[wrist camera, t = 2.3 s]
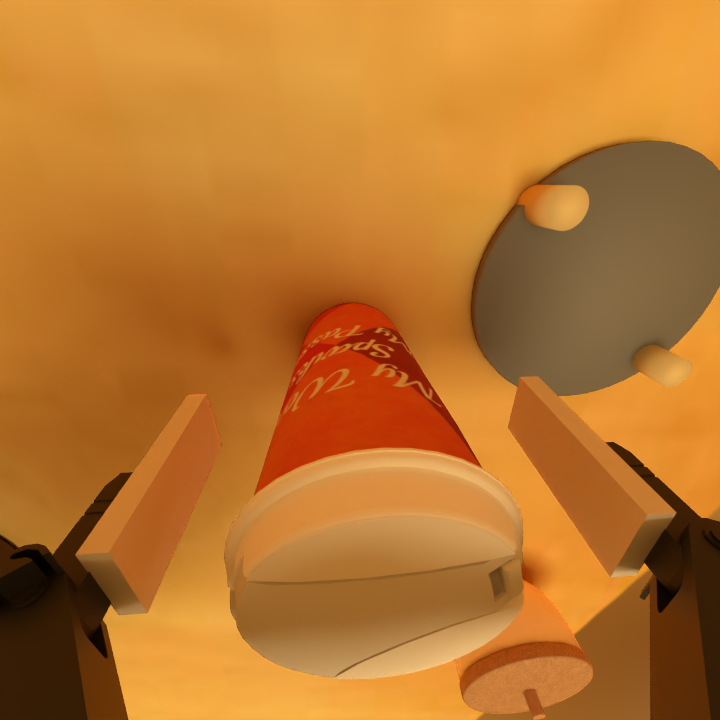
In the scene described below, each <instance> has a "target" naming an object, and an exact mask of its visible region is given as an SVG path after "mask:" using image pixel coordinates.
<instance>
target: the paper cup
mask: <svg viewBox="0 0 720 720" xmlns="http://www.w3.org/2000/svg"><path fill="white" fill-rule="evenodd" d="M522 545H523V520H522V516H521V512H520V508H519V506H518V505H517V503H516V501H515V499H514V498H513V496H512V494H511V492H510V491H509V490H508V489H507V488H506V487H505V486H504V485H503V484H502V483H501V482H500V480H499V479H497V478H496V477H494V476H493V475H492V474H490V473H489V472H487V471H486V470H484V469H483V468H482V467H481V465H480V464H479V462H478V460H477V458H476V457H475V455H474V453H473V451H472V450H471V448H470V446H469V445H468V443H467V441H466V439H465V438H464V436H463V434H462V432H461V431H460V429H459V427H458V426H457V424H456V422H455V421H454V419H453V418H452V416H451V415H450V413H449V412H448V410H447V409H446V407H445V406H444V404H443V402H442V401H441V399H440V398H439V396H438V395H437V393H436V392H435V390H434V389H433V387H432V386H431V384H430V382H429V381H428V379H427V378H426V376H425V375H424V373H423V371H422V370H421V368H420V366H419V365H418V363H417V361H416V360H415V358H414V357H413V355H412V353H411V352H410V350H409V348H408V347H407V345H406V344H405V342H404V340H403V339H402V337H401V336H400V334H399V333H398V331H397V330H396V328H395V327H394V325H393V324H392V323H391V321H390V320H389V319H388V318H387V317H386V316H385V315H384V314H383V313H381V312H380V311H378V310H377V309H375V308H373V307H371V306H368V305H364V304H359V303H347V304H341V305H337V306H334V307H332V308H330V309H328V310H326V311H325V312H323V313H322V314H321V315H320V316H318V317H317V319H316V320H315V321H314V322H313V323H312V325H311V326H310V328H309V330H308V332H307V334H306V337H305V339H304V342H303V345H302V348H301V351H300V354H299V357H298V360H297V363H296V366H295V369H294V372H293V375H292V378H291V381H290V384H289V387H288V390H287V394H286V397H285V400H284V403H283V406H282V409H281V412H280V415H279V419H278V422H277V425H276V428H275V431H274V434H273V437H272V441H271V444H270V447H269V450H268V453H267V456H266V459H265V463H264V466H263V469H262V472H261V475H260V478H259V481H258V485H257V488H256V491H255V494H254V496H253V497H252V498H251V499H250V501H249V502H248V503H247V504H246V505H245V506H244V507H243V508H242V509H241V511H240V512H239V514H238V515H237V517H236V518H235V520H234V521H233V523H232V525H231V528H230V531H229V533H228V536H227V539H226V543H225V553H224V559H225V565H226V570H227V581H228V587H229V588H230V610H231V613H232V615H233V618H234V619H235V620H236V624H237V628H238V630H239V632H240V634H241V636H242V638H243V639H244V640H245V641H246V642H247V643H248V644H249V645H250V646H251V647H252V648H253V649H254V650H255V651H257V652H258V653H259V654H260V655H262V656H263V657H264V658H266V659H268V660H270V661H272V662H273V663H275V664H277V665H280V666H283V667H285V668H288V669H291V670H295V671H299V672H303V673H308V674H312V675H318V676H323V677H328V678H337V679H368V678H382V677H389V676H397V675H403V674H408V673H413V672H417V671H421V670H425V669H429V668H432V667H436V666H439V665H441V664H444V663H447V662H450V661H453V660H455V659H457V658H460V657H462V656H464V655H466V654H469V653H470V652H472V651H474V650H476V649H478V648H480V647H481V646H483V645H485V644H486V643H488V642H489V641H491V640H492V639H494V638H495V637H496V636H498V635H499V634H500V633H501V632H502V631H503V630H505V629H506V628H507V627H508V626H509V625H510V624H511V623H512V621H513V620H514V619H515V618H516V617H517V616H518V614H519V612H520V610H521V609H522V607H523V601H524V594H523V589H524V584H523V577H522V566H523V552H522Z"/></svg>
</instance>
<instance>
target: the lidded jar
mask: <svg viewBox="0 0 720 720" xmlns="http://www.w3.org/2000/svg"><path fill="white" fill-rule="evenodd" d="M523 584H524V589H523V594H524V601H523V607H522V609H521V610H520V612H519V614H518V616H517V617H516V618H515V619H514V620H513V621H512V623H511V624H510V625H509V626H508V627H507V628H506V629H505V630H503V631H502V632H501V633H500V634H499V635H498V636H496V637H495V638H494V639H492V640H491V641H489V642H488V643H486V644H485V645H483V646H481V647H480V648H478V649H476V650H474V651H472V652H470V653H469V654H466V655H464V656H462V657H460V658H457V659H455V663H456V668H457V672H458V676H459V680H460V689H461V694H462V697H463V700H464V702H465V703H466V704H467V705H468V706H469V707H470V708H472V709H474V710H477V711H480V712H485V713H494V714H509V713H519V712H525V711H530V713H531V715H532V718H533V719H534V720H537V719H542V718H544V717H545V716H546V715H545V712H544V710H543V707H546V706H549V705H552V704H555V703H557V702H560V701H563V700H565V699H567V698H569V697H571V696H573V695H574V694H576V693H578V692H579V691H580V690H582V689H583V688H584V687H585V686H586V685H587V684H588V683H589V682H590V680H591V679H592V676H593V668H592V666H591V664H590V662H589V660H588V658H587V656H586V655H585V653H584V652H583V651H582V650H581V648H580V646H579V644H578V642H577V641H576V639H575V637H574V635H573V633H572V632H571V630H570V628H569V626H568V625H567V623H566V622H565V620H564V619H563V617H562V616H561V614H560V613H559V611H558V610H557V609H556V607H555V606H554V605H553V603H552V602H551V601H550V600H549V599H548V598H547V597H546V596H545V595H544V594H543V593H542V592H541V591H540V590H539V589H537V588H536V587H535V586H533V585H532V584H530V583H528V582H527V581H525V580H523Z"/></svg>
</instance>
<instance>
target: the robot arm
mask: <svg viewBox="0 0 720 720" xmlns="http://www.w3.org/2000/svg"><path fill="white" fill-rule="evenodd" d="M508 428H509V430H510V431H511V433H512V434H513V436H514V437H515V439H516V440H517V442H518V443H519V444H520V446H521V447H522V449H523V450H524V452H525V453H526V455H527V456H528V458H529V459H530V461H531V462H532V463H533V465H534V466H535V468H536V469H537V471H538V472H539V474H540V475H541V477H542V478H543V479H544V481H545V482H546V484H547V485H548V487H549V488H550V490H551V491H552V493H553V494H554V496H555V497H556V498H557V500H558V501H559V503H560V504H561V506H562V507H563V509H564V510H565V512H566V513H567V514H568V516H569V517H570V519H571V520H572V522H573V523H574V525H575V526H576V528H577V529H578V531H579V532H580V533H581V535H582V536H583V538H584V539H585V541H586V542H587V544H588V545H589V547H590V548H591V549H592V551H593V552H594V554H595V555H596V557H597V558H598V560H599V561H600V563H601V564H602V566H603V567H604V568H605V570H606V571H607V573H608V574H609V576H610V577H620V576H633V575H637V573H638V572H639V570H640V568H641V567H642V565H643V564H644V563H645V564H646V565H647V566H648V568H649V569H650V570H651V571H652V573H653V576H652V577H651V579H650V580H649V582H648V583H647V584H646V586H645V587H644V589H643V590H642V592H641V595H640V598H642V599H644V600H645V598H646V597H647V596H648V594H649V593H650V712H651V713H650V716H651V717H650V718H651V719H650V720H720V522H718V521H715V520H711V519H708V518H701V517H700V516H698V515H697V514H696V513H695V512H694V511H693V510H692V509H691V508H690V507H689V506H688V505H687V504H686V503H684V502H683V501H682V500H681V499H680V498H679V497H678V496H677V495H676V494H675V493H674V492H673V491H672V490H671V489H669V488H668V487H667V486H666V485H665V484H664V483H663V482H662V481H661V480H660V479H659V478H658V477H655V476H654V474H653V473H652V472H651V471H650V470H649V469H648V468H647V467H644V464H643V463H642V462H640V461H639V460H638V459H637V458H636V457H635V456H634V455H633V454H632V453H631V452H629V451H628V450H626V449H624V448H623V447H621V446H619V445H618V444H616V443H614V442H604V441H603V440H602V439H601V438H600V437H599V436H598V435H597V434H596V433H595V432H594V431H593V430H592V429H591V428H590V427H589V426H588V425H587V424H586V423H585V422H584V421H583V420H582V419H581V418H580V417H579V416H578V415H577V414H576V413H575V412H574V411H573V410H572V409H571V408H570V407H569V406H568V405H567V404H566V403H565V402H564V401H563V400H562V399H560V398H559V397H558V396H557V395H556V394H555V393H554V392H553V391H552V390H551V389H550V388H549V387H548V386H547V385H546V384H545V383H544V382H543V381H542V380H541V379H540V378H539V377H538V376H528V377H520V379H519V383H518V387H517V392H516V396H515V400H514V404H513V408H512V413H511V417H510V421H509V425H508ZM221 445H222V444H221V440H220V437H219V434H218V430H217V427H216V423H215V420H214V417H213V413H212V410H211V406H210V403H209V400H208V396H207V394H189V395H187V396H186V398H185V399H184V401H183V402H182V403H181V405H180V406H179V408H178V409H177V410H176V412H175V413H174V415H173V416H172V418H171V419H170V420H169V422H168V423H167V425H166V426H165V428H164V429H163V430H162V432H161V433H160V435H159V436H158V438H157V439H156V440H155V442H154V443H153V445H152V446H151V448H150V449H149V450H148V452H147V453H146V455H145V456H144V457H143V459H142V460H141V462H140V463H139V465H138V466H137V467H136V469H135V470H134V472H131V473H121V474H119V475H118V476H117V477H116V478H114V479H113V480H112V481H111V482H110V483H108V484H107V485H106V486H105V487H104V488H103V490H102V491H101V492H100V493H99V495H98V496H97V497H96V499H95V500H94V503H93V504H91V505H90V507H89V508H88V509H87V511H86V512H85V515H84V516H82V517H81V518H80V520H79V521H78V522H77V524H76V525H75V526H74V528H73V529H72V530H71V532H70V533H69V534H68V535H67V537H66V538H65V539H64V541H63V542H62V543H61V545H60V546H59V547H58V549H57V550H56V551H55V553H54V554H53V555H52V554H51V553H50V551H49V550H48V549H47V547H46V546H44V545H40V544H32V545H26V546H23V547H20V548H18V549H14V548H13V547H11V546H10V545H9V544H7V543H6V542H4V541H3V540H1V539H0V720H128V716H127V712H126V708H125V703H124V699H123V695H122V690H121V686H120V682H119V678H118V673H117V669H116V665H115V660H114V656H113V652H112V647H111V643H110V639H109V635H108V630H107V626H106V624H105V622H104V621H103V617H104V616H105V614H106V612H107V610H108V608H109V606H110V604H111V605H112V607H113V608H114V609H115V611H116V612H117V613H118V615H128V614H141V613H148V611H149V608H150V606H151V604H152V601H153V599H154V597H155V595H156V592H157V590H158V588H159V586H160V583H161V581H162V579H163V577H164V574H165V572H166V570H167V567H168V565H169V563H170V561H171V558H172V556H173V554H174V552H175V549H176V547H177V545H178V542H179V540H180V538H181V536H182V533H183V531H184V529H185V527H186V524H187V522H188V520H189V518H190V515H191V513H192V511H193V508H194V506H195V504H196V502H197V499H198V497H199V495H200V493H201V490H202V488H203V486H204V484H205V481H206V479H207V477H208V474H209V472H210V470H211V468H212V465H213V463H214V461H215V459H216V456H217V454H218V452H219V450H220V447H221Z"/></svg>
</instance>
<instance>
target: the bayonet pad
mask: <svg viewBox="0 0 720 720" xmlns="http://www.w3.org/2000/svg"><path fill="white" fill-rule="evenodd" d="M719 286H720V171H719V170H718V168H717V167H716V166H715V165H714V164H713V163H712V162H711V161H710V160H709V159H707V158H706V157H705V156H703V155H702V154H701V153H699V152H697V151H695V150H693V149H691V148H688V147H686V146H683V145H679V144H675V143H671V142H660V141H645V142H635V143H626V144H619V145H614V146H610V147H606V148H602V149H598V150H596V151H593V152H591V153H588V154H586V155H583V156H581V157H578V158H577V159H575V160H573V161H571V162H569V163H567V164H566V165H564V166H562V167H560V168H559V169H557V170H556V171H554V172H553V173H552V174H550V175H549V176H547V177H546V178H544V179H543V180H542V181H541V182H539V183H538V184H537V185H533V186H531V187H529V188H527V189H526V190H525V191H524V192H523V193H522V194H521V195H520V197H519V199H518V201H517V204H516V206H515V207H514V208H513V209H512V210H511V211H510V213H509V214H508V215H507V217H506V218H505V219H504V221H503V222H502V223H501V225H500V226H499V227H498V229H497V231H496V232H495V234H494V236H493V237H492V239H491V241H490V242H489V244H488V247H487V249H486V251H485V253H484V255H483V257H482V260H481V262H480V265H479V268H478V271H477V274H476V278H475V283H474V288H473V293H472V306H471V311H472V324H473V329H474V333H475V337H476V339H477V342H478V345H479V347H480V349H481V351H482V352H483V354H484V356H485V358H486V359H487V360H488V361H489V362H490V364H491V365H492V366H493V367H494V368H495V369H496V371H497V372H498V373H499V374H500V375H501V376H503V377H504V378H505V379H506V380H507V381H509V382H510V383H512V384H514V385H515V386H517V387H518V383H519V379H520V377H528V376H538V377H539V378H540V379H541V380H542V381H543V382H544V383H545V384H546V385H547V386H548V387H549V388H550V389H551V390H552V391H553V392H554V393H555V394H556V395H557V396H570V395H578V394H584V393H588V392H593V391H597V390H600V389H603V388H606V387H609V386H611V385H614V384H616V383H618V382H621V381H623V380H625V379H627V378H629V377H631V376H633V375H634V374H636V373H638V372H641V373H643V374H645V375H646V376H648V377H649V378H651V379H653V380H654V381H656V382H658V383H659V384H661V385H662V386H665V387H673V386H676V385H678V384H680V383H682V382H683V381H684V380H685V379H686V378H687V377H688V376H689V375H690V373H691V371H692V364H691V362H689V361H688V360H686V359H684V358H682V357H680V356H678V355H676V354H674V353H672V352H670V351H669V350H670V349H671V348H672V347H673V346H674V345H675V344H676V343H678V342H679V341H680V339H681V338H682V337H683V336H684V335H685V334H686V333H687V332H688V331H689V330H690V329H691V328H692V326H693V325H694V324H695V323H696V322H697V320H698V319H699V318H700V317H701V315H702V314H703V312H704V311H705V309H706V308H707V307H708V305H709V304H710V302H711V301H712V299H713V297H714V295H715V293H716V292H717V290H718V288H719Z"/></svg>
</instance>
